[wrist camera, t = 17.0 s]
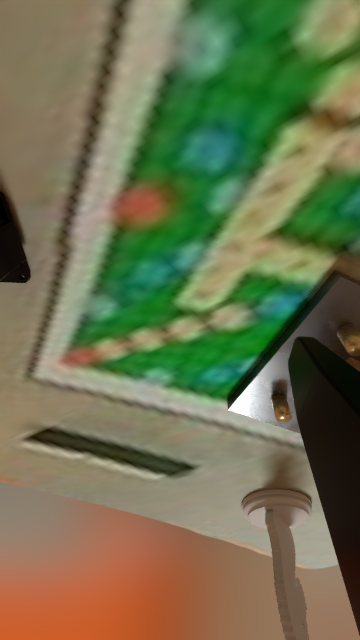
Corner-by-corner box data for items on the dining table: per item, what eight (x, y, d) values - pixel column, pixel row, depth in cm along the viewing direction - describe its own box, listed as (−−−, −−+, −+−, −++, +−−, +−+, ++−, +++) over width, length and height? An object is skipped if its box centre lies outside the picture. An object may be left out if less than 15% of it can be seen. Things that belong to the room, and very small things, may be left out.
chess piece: (257, 522, 46) (277, 670, 33) (230, 496, 41) (241, 656, 29) (319, 512, 42) (367, 673, 30) (297, 483, 38) (343, 658, 25)
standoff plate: (227, 401, 29) (229, 427, 26) (335, 270, 20) (353, 291, 17) (355, 444, 32) (368, 471, 29) (499, 345, 23) (535, 372, 20)
